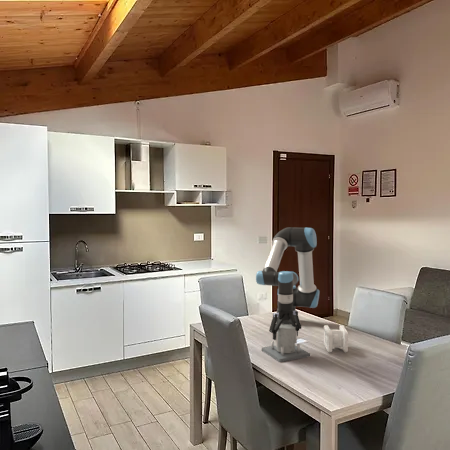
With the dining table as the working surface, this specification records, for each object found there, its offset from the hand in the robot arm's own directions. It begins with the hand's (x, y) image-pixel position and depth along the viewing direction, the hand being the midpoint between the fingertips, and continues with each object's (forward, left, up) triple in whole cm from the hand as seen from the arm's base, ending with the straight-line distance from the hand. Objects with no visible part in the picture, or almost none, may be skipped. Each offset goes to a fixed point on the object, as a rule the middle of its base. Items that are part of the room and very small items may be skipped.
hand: (285, 344), depth 223 cm
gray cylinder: (0, 0, -3) cm, 3 cm away
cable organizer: (+6, +27, -5) cm, 28 cm away
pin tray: (0, 0, -5) cm, 5 cm away
